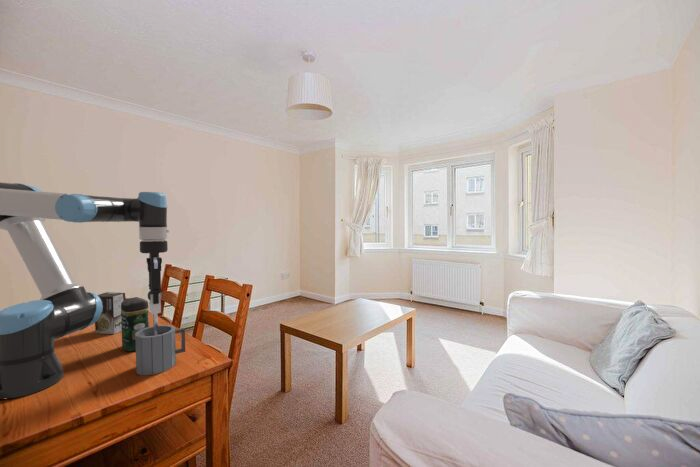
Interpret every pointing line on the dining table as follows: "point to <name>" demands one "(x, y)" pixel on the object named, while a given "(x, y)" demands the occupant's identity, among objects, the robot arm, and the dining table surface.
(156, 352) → the grey ribbed mug
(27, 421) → the dining table surface
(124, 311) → the coffee jar
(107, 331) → the coffee box
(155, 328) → the plunger
